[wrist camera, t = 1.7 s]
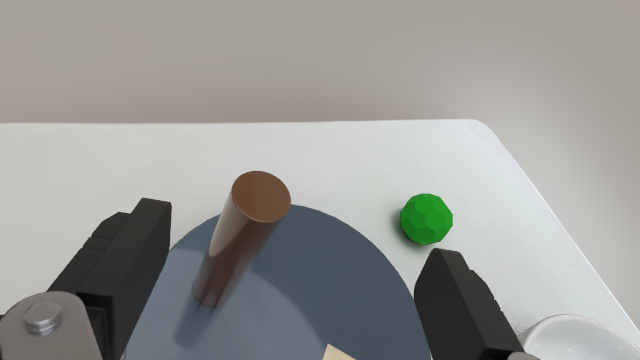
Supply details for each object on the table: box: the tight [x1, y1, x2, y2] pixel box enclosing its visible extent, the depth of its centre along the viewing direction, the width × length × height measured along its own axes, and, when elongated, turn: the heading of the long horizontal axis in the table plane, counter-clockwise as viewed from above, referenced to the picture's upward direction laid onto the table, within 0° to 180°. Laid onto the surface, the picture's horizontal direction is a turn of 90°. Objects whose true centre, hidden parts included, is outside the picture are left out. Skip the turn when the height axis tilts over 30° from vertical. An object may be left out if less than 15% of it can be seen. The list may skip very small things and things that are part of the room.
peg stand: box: [124, 171, 431, 360], centre depth 23 cm, size 22×22×14 cm
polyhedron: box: [401, 194, 453, 245], centre depth 38 cm, size 5×5×5 cm
